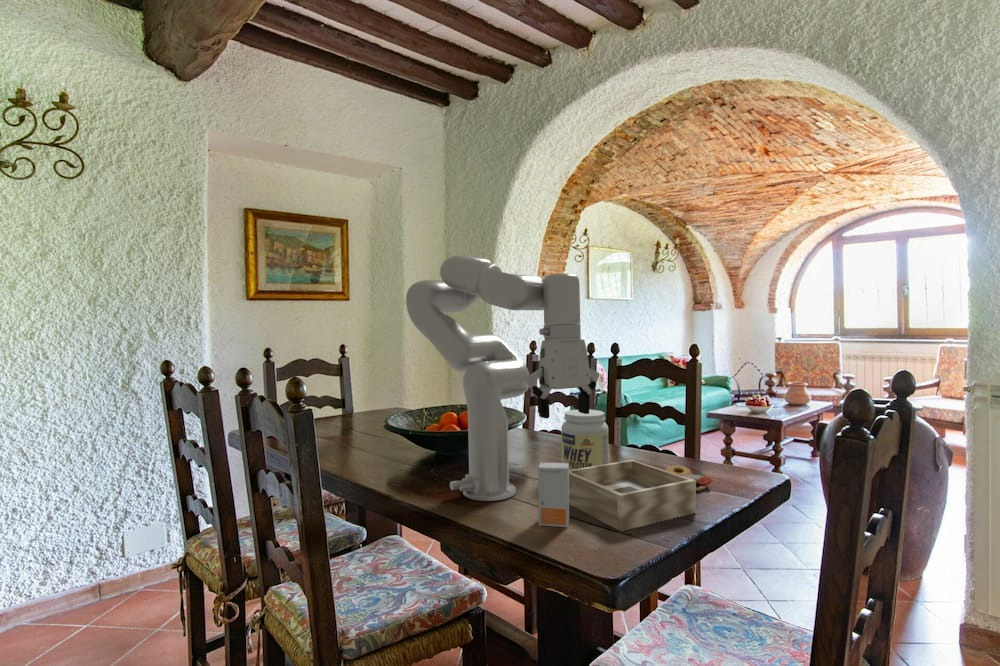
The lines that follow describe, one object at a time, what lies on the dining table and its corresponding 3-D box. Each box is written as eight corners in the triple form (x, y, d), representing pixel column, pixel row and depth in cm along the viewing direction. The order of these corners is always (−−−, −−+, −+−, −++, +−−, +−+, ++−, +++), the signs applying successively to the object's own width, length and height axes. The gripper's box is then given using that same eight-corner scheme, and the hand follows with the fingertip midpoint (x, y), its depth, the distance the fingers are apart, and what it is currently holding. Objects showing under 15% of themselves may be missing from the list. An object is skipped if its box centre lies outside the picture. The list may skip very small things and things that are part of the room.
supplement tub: (554, 479, 143) (553, 414, 142) (571, 468, 154) (570, 407, 153) (600, 485, 137) (599, 417, 137) (614, 473, 148) (613, 410, 147)
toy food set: (675, 475, 146) (675, 463, 146) (721, 487, 135) (721, 474, 135) (642, 485, 138) (642, 472, 138) (688, 498, 127) (688, 484, 127)
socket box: (621, 531, 108) (620, 495, 108) (563, 501, 126) (563, 471, 125) (696, 513, 117) (695, 480, 117) (632, 488, 135) (632, 459, 134)
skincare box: (538, 526, 111) (537, 467, 111) (540, 519, 115) (539, 461, 115) (568, 528, 110) (567, 468, 110) (569, 520, 114) (569, 462, 114)
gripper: (534, 334, 108) (536, 422, 109) (607, 332, 116) (609, 413, 116) (517, 334, 115) (519, 416, 115) (586, 332, 122) (588, 409, 123)
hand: (564, 415), depth 116 cm, fingers open, 9 cm apart
